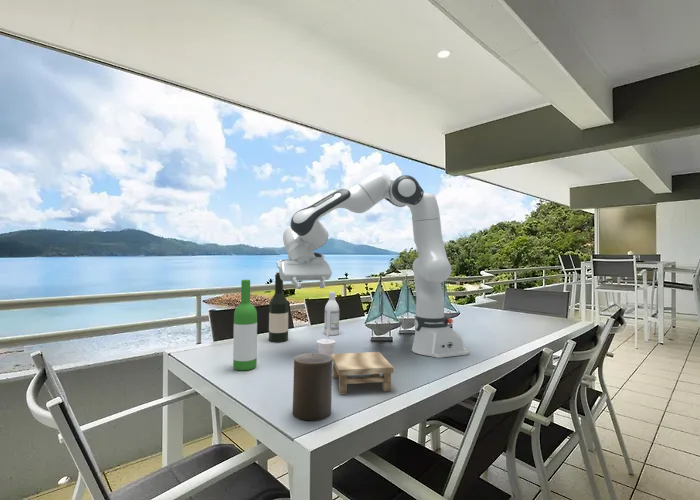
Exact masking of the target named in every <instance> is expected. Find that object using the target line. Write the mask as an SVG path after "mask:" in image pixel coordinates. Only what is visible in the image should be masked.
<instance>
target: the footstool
mask: <svg viewBox="0 0 700 500" xmlns="http://www.w3.org/2000/svg"><path fill="white" fill-rule="evenodd" d="M331 357H332V379H338V393H339V394H340V395H346V394H347V393H348V385H349V384H350V385H352V384H368V383H369V384H370V383H382V387H381V389H382V390H383V391H384V392H391V391H392V374H394V366H393V365H392V364H391V363H390V362H389V361H388V360H387V359H386V358H385V357H384V356H383V355H382V353H381V352H380V351H372V352H370V351H367V352H345V353H340V352H339V353H333V354H331ZM380 374H381V376H380ZM355 375H356V376H358V375H372V376H366V377H365V376H364V377H348V376H355Z"/></svg>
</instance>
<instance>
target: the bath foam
mask: <svg viewBox="0 0 700 500" xmlns="http://www.w3.org/2000/svg"><path fill="white" fill-rule="evenodd" d="M327 328H329V334H328V336H338V335H339V334H340V307H339V303H338V302H337V301H336V292H334V291H329V292H328V301H327V302H326V304H325V307H324V334H325V335H326V336H327Z"/></svg>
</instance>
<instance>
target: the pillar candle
mask: <svg viewBox="0 0 700 500" xmlns="http://www.w3.org/2000/svg"><path fill="white" fill-rule="evenodd" d="M292 381H293V386H292V387H293V391H292V415H293V416H294V417H295V418H297V419H298V420H304V421H311V422H312V421H313V422H315V421H320V420H324V419H326V418H328V417H330V415H331V414H332V395H333V393H332V390H333V389H332V385H333V384H332V383H333V362H332V357H331V356H329V355H326V354H320V353H318V352H315V353H314V352H309V353H308V352H307V353H301V354H298V355H296V356H294V358H293V380H292Z"/></svg>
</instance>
